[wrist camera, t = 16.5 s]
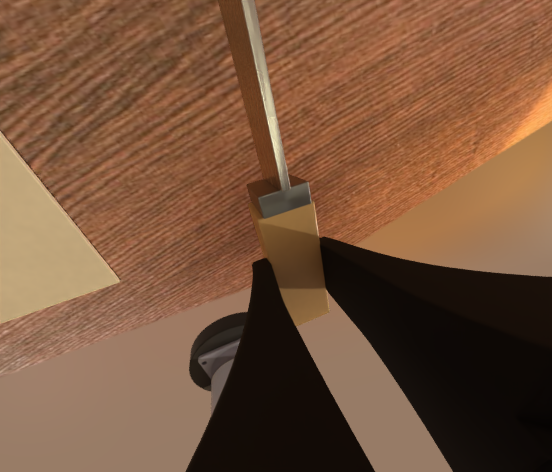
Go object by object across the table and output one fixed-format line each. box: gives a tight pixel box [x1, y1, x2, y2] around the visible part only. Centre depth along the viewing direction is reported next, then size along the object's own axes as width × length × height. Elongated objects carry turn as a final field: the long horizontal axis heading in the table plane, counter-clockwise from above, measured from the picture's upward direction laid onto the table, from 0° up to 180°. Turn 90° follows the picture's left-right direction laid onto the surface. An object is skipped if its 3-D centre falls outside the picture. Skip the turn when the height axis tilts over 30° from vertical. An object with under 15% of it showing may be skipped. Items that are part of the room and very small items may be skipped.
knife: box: [218, 0, 329, 326], centre depth 7 cm, size 14×2×3 cm, turn 14°
